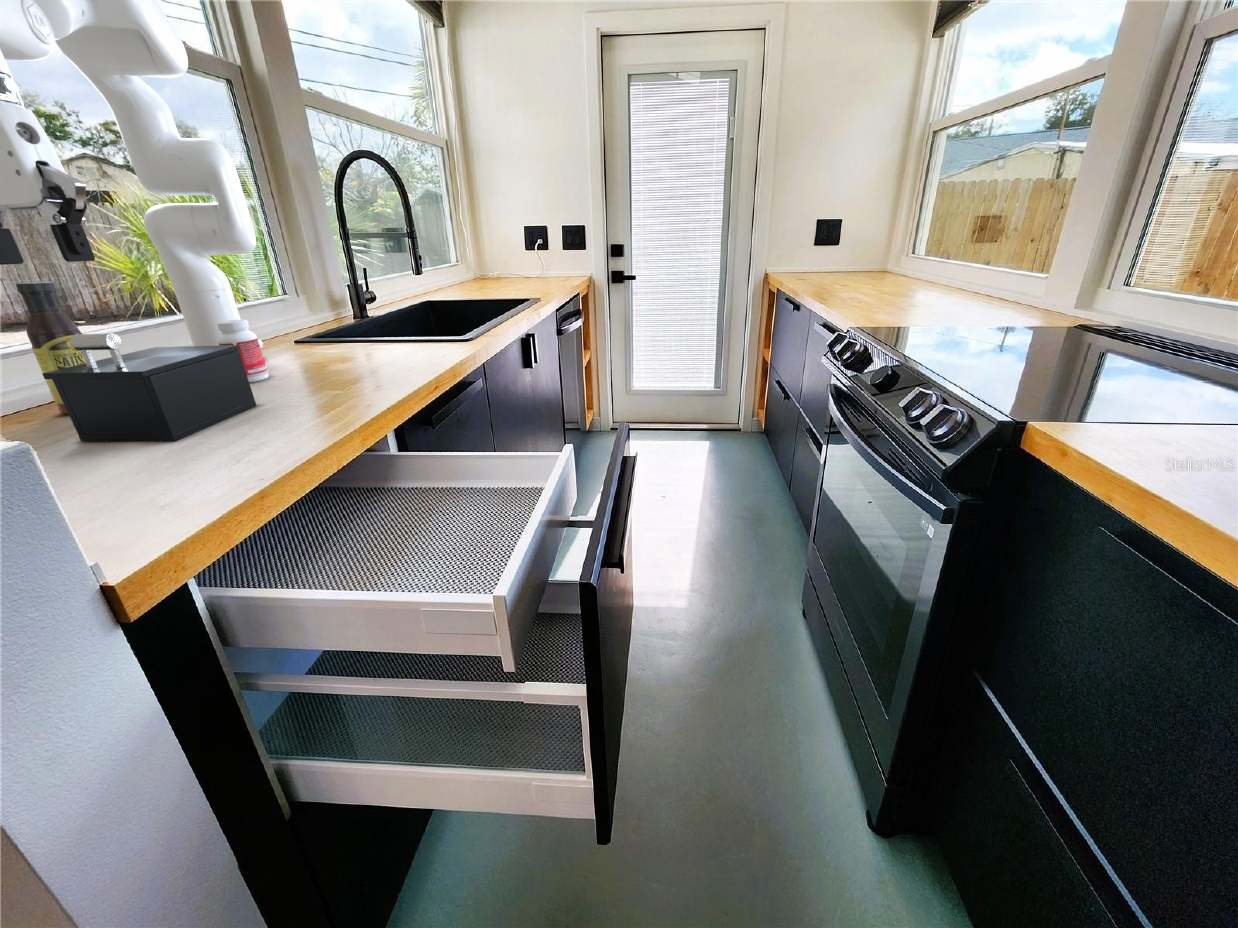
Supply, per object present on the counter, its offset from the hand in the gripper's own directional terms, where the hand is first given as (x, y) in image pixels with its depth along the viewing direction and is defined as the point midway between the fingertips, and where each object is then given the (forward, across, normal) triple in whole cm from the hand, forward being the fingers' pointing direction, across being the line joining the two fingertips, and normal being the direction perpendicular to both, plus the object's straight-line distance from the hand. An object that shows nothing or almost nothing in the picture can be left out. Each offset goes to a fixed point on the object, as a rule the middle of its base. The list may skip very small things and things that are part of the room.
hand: (44, 262), depth 64 cm
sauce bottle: (+23, +20, -14) cm, 33 cm away
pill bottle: (+23, +5, -32) cm, 39 cm away
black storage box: (+23, -2, -7) cm, 24 cm away
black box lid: (+14, -2, -6) cm, 15 cm away
